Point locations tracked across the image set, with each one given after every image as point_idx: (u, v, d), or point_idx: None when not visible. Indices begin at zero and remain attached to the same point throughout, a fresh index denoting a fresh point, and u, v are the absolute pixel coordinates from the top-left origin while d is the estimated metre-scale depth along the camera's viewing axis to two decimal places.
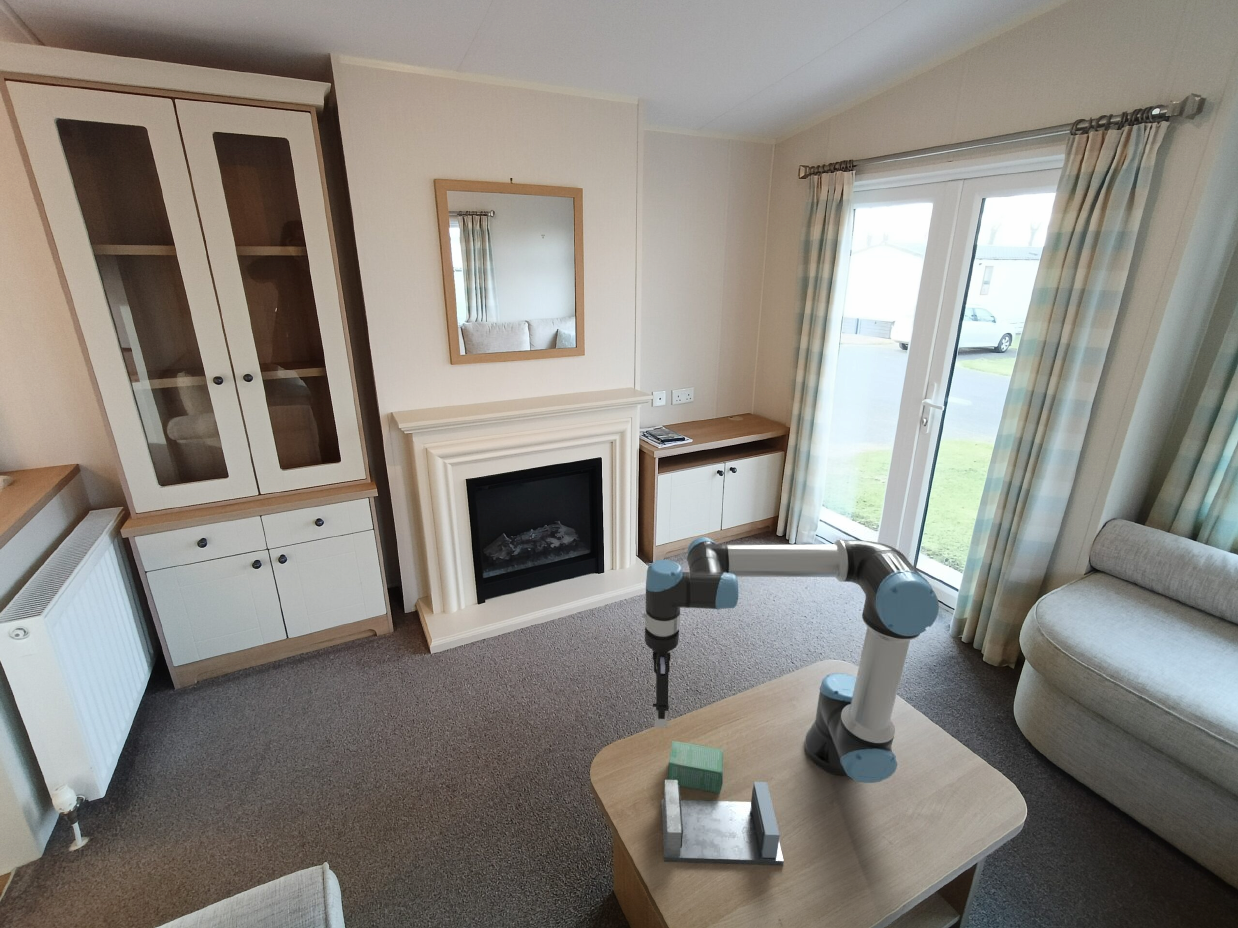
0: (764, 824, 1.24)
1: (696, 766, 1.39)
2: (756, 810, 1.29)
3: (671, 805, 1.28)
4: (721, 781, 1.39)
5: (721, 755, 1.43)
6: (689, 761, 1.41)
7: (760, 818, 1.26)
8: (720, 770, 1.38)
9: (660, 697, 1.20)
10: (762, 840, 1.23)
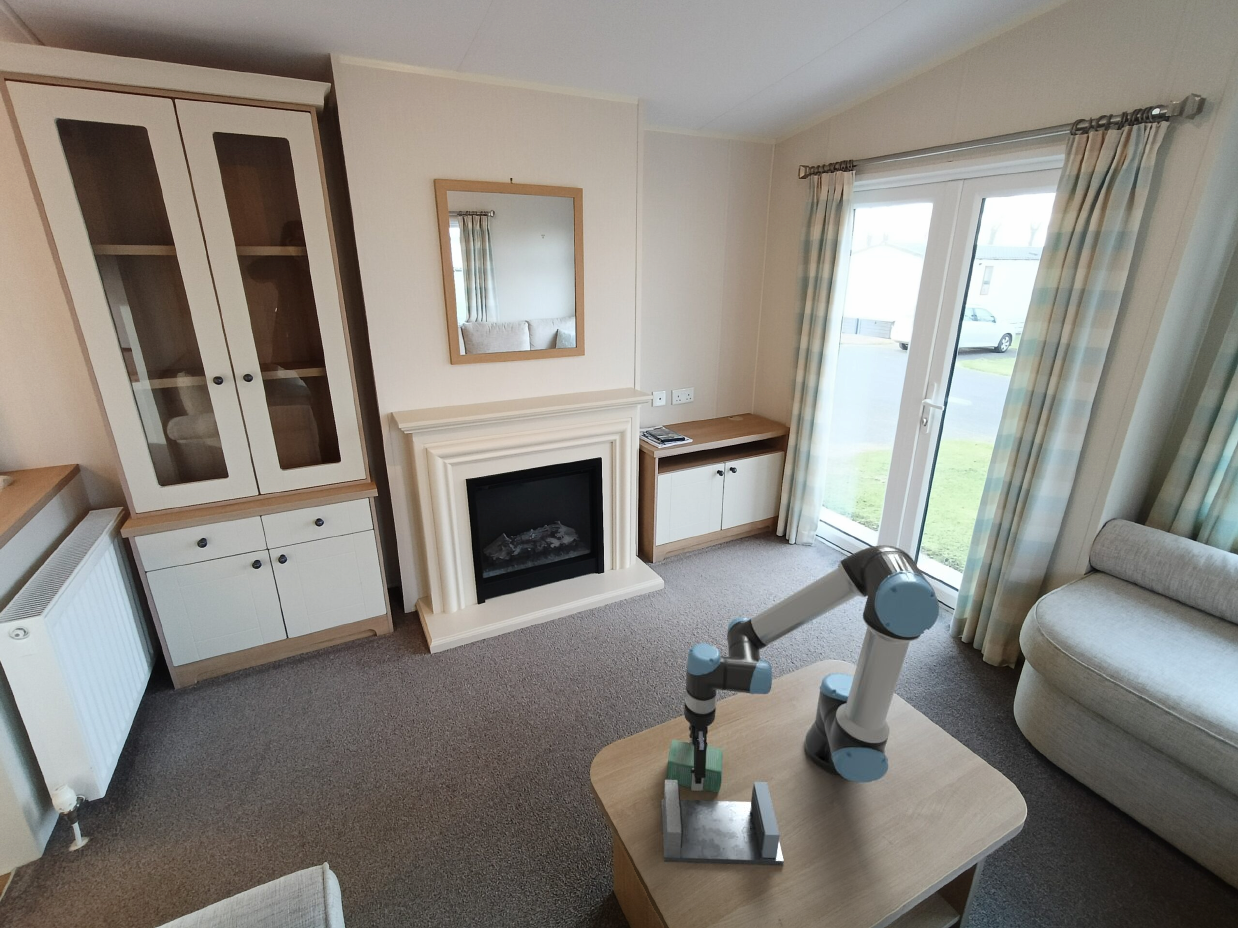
0: (764, 824, 1.24)
1: None
2: (756, 810, 1.29)
3: (671, 805, 1.28)
4: (720, 780, 1.39)
5: (720, 754, 1.43)
6: (688, 760, 1.41)
7: (760, 818, 1.26)
8: (719, 769, 1.39)
9: (698, 768, 1.34)
10: (762, 840, 1.23)
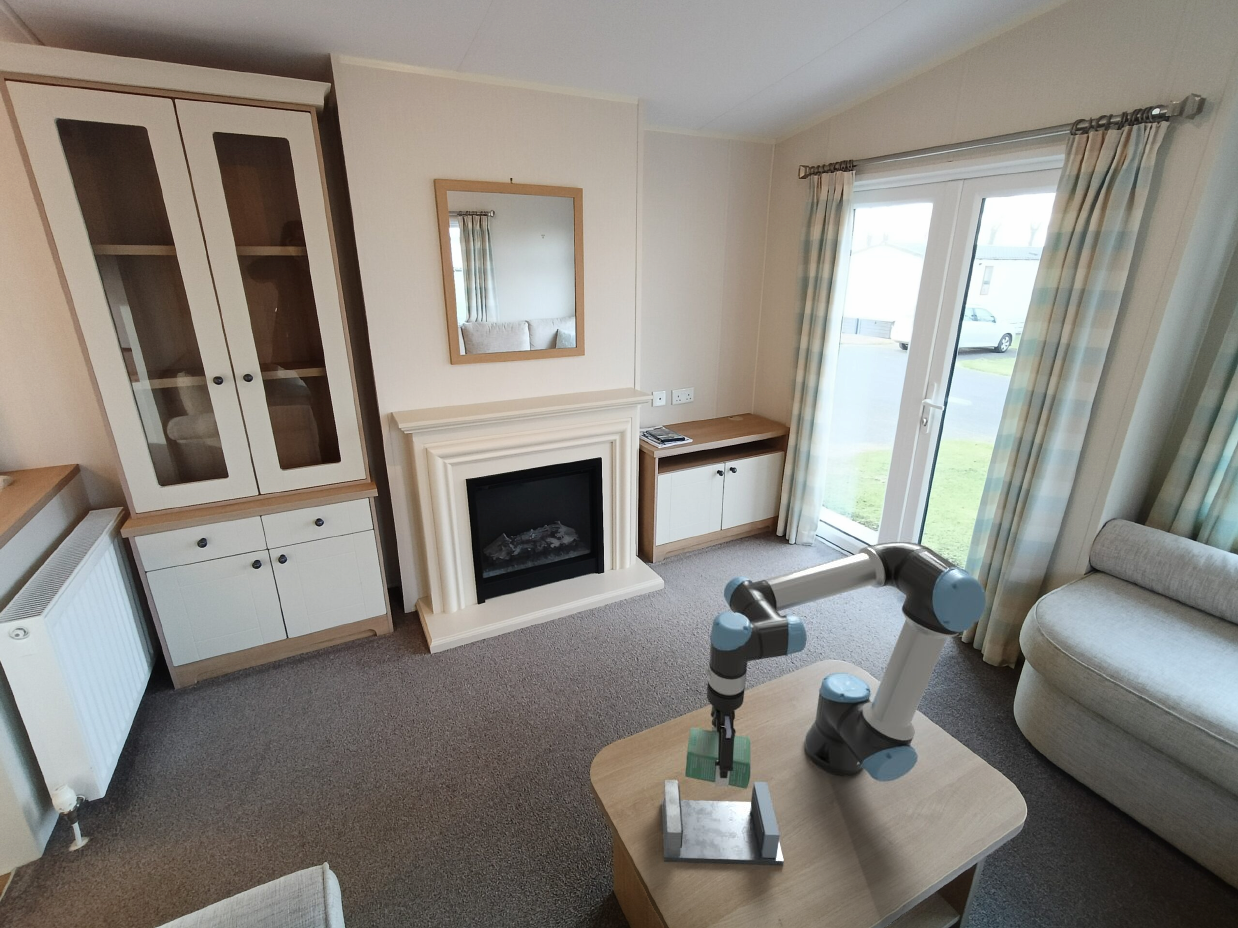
0: (764, 824, 1.24)
1: None
2: (756, 810, 1.29)
3: (671, 805, 1.28)
4: (749, 774, 1.18)
5: (748, 744, 1.22)
6: (711, 751, 1.20)
7: (760, 818, 1.26)
8: (748, 761, 1.18)
9: (724, 759, 1.14)
10: (762, 840, 1.23)
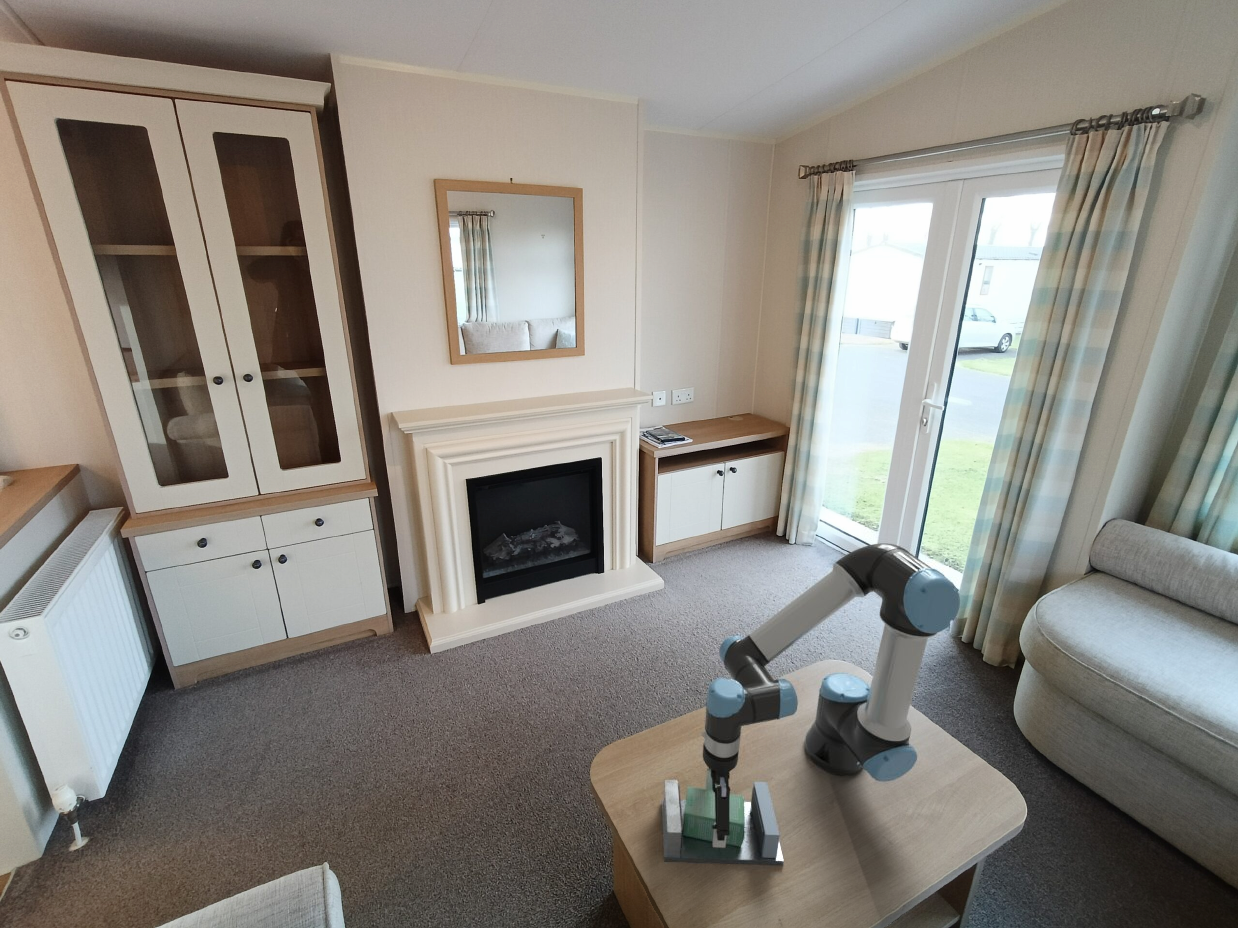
0: (764, 824, 1.24)
1: None
2: (756, 810, 1.29)
3: (671, 805, 1.28)
4: (743, 834, 1.25)
5: (742, 803, 1.28)
6: (707, 811, 1.26)
7: (760, 818, 1.26)
8: (742, 821, 1.24)
9: (721, 821, 1.17)
10: (762, 840, 1.23)
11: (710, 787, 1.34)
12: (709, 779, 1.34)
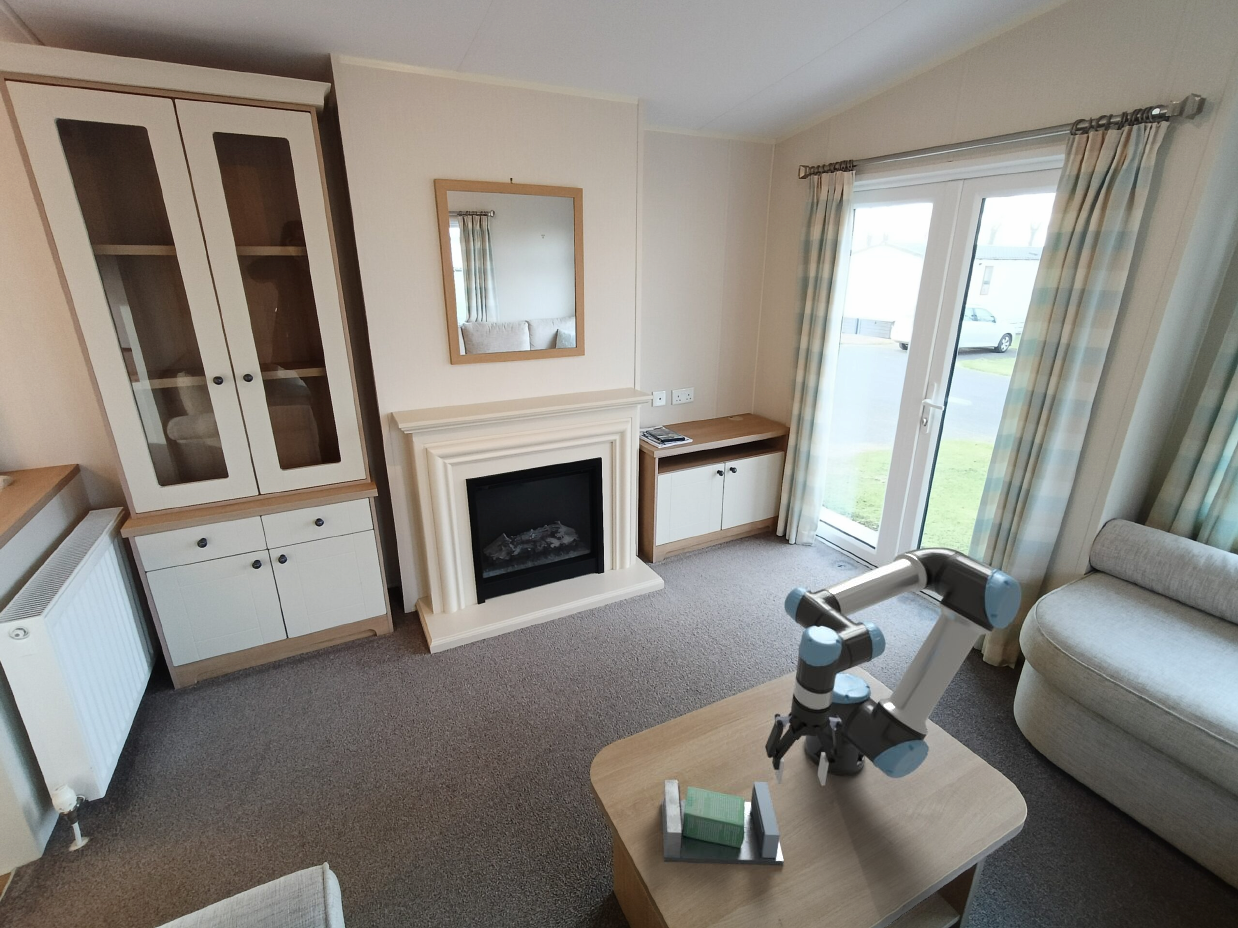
0: (764, 824, 1.24)
1: (715, 817, 1.25)
2: (756, 810, 1.29)
3: (671, 805, 1.28)
4: (743, 835, 1.24)
5: (742, 804, 1.28)
6: (707, 812, 1.26)
7: (760, 818, 1.26)
8: (742, 823, 1.24)
9: (769, 741, 1.21)
10: (762, 840, 1.23)
11: (819, 773, 1.24)
12: (820, 764, 1.23)
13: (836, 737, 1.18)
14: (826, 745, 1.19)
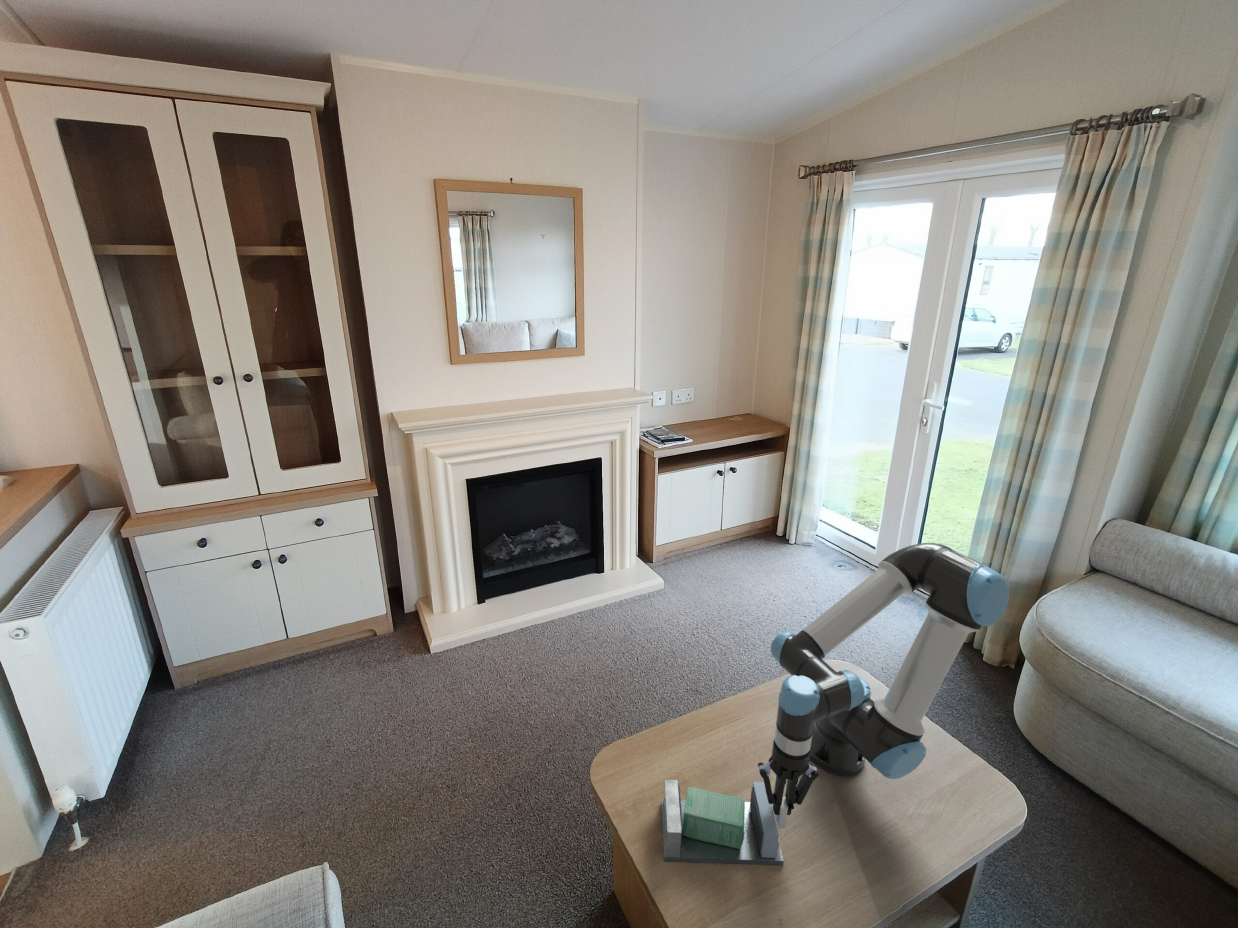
0: (763, 824, 1.24)
1: (715, 818, 1.25)
2: (755, 810, 1.29)
3: (671, 805, 1.28)
4: (742, 836, 1.24)
5: (742, 806, 1.28)
6: (706, 812, 1.26)
7: (759, 818, 1.26)
8: (741, 824, 1.24)
9: (765, 788, 1.26)
10: (761, 840, 1.23)
11: None
12: None
13: (806, 783, 1.23)
14: (794, 790, 1.24)
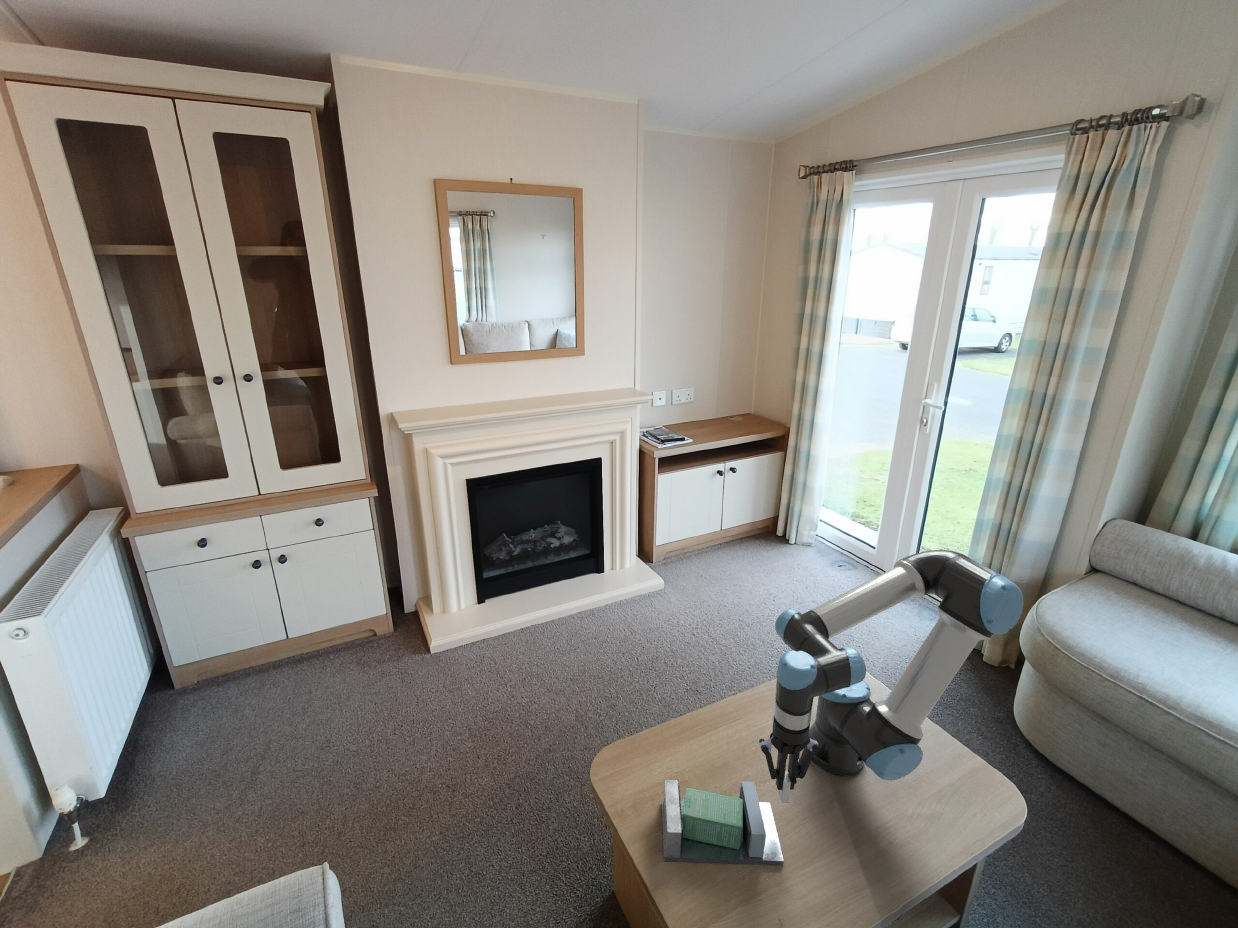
0: (751, 824, 1.24)
1: (713, 819, 1.25)
2: (743, 810, 1.29)
3: (671, 805, 1.28)
4: (741, 836, 1.24)
5: (741, 806, 1.28)
6: (705, 813, 1.26)
7: (747, 818, 1.26)
8: (740, 824, 1.24)
9: None
10: (749, 840, 1.24)
11: None
12: None
13: (808, 757, 1.24)
14: (796, 765, 1.24)
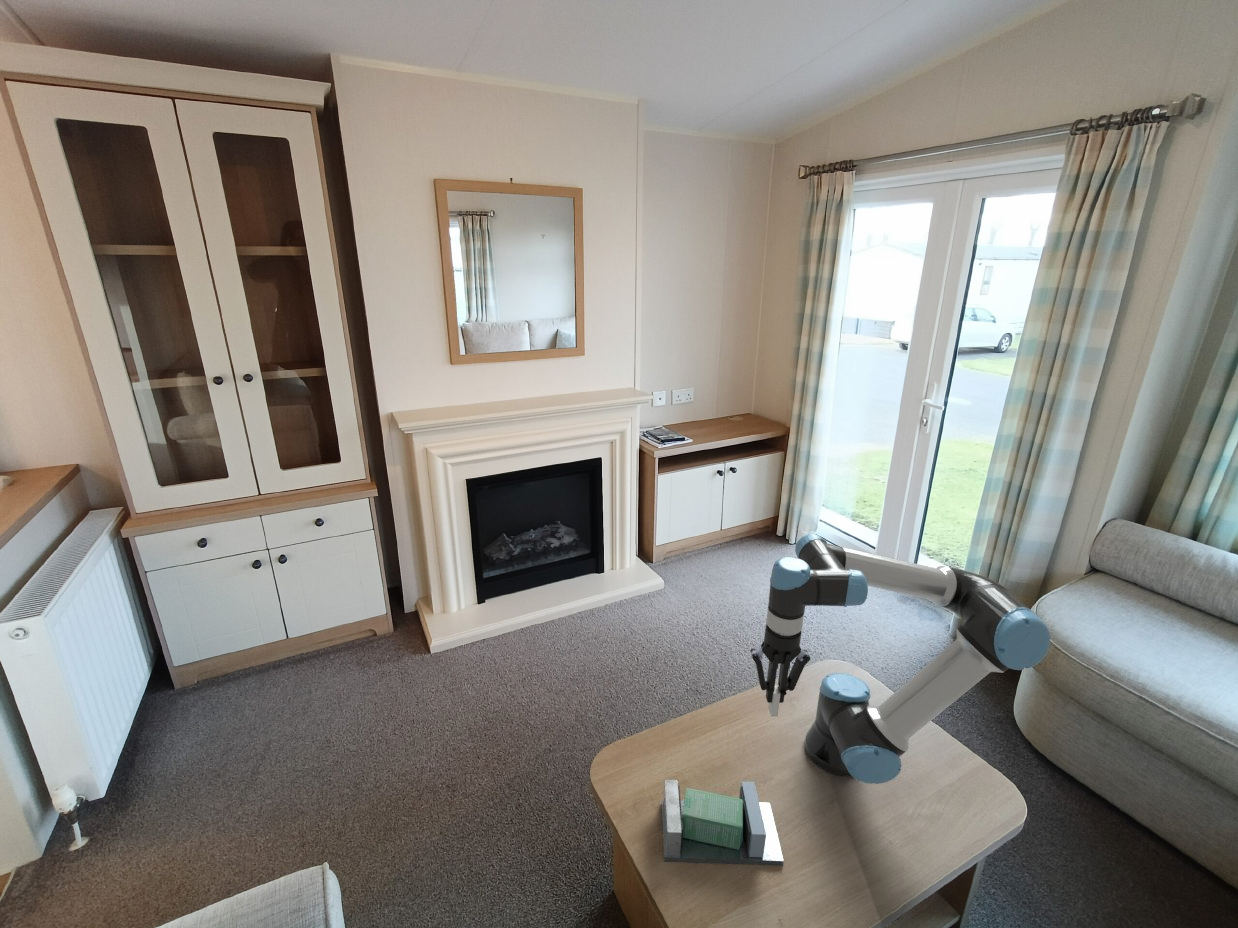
0: (751, 824, 1.24)
1: (713, 819, 1.24)
2: (743, 810, 1.29)
3: (671, 805, 1.28)
4: (741, 837, 1.24)
5: (741, 806, 1.28)
6: (705, 813, 1.26)
7: (747, 818, 1.26)
8: (740, 824, 1.23)
9: (758, 675, 1.28)
10: (749, 840, 1.24)
11: None
12: None
13: (798, 668, 1.25)
14: (786, 675, 1.26)
